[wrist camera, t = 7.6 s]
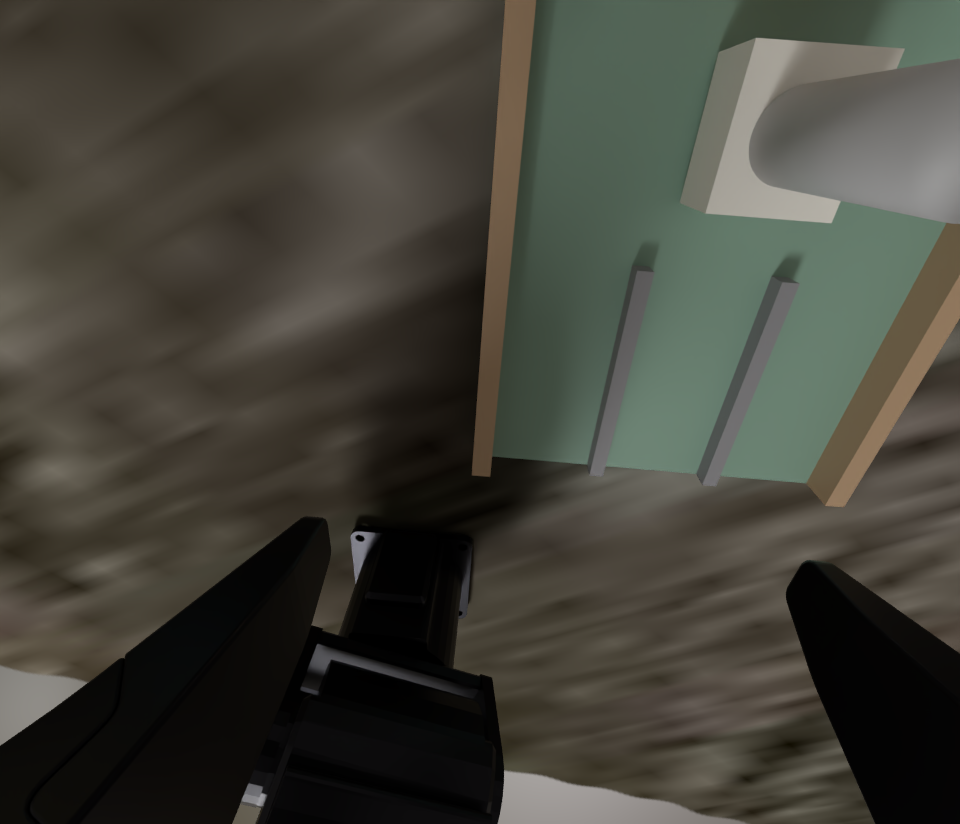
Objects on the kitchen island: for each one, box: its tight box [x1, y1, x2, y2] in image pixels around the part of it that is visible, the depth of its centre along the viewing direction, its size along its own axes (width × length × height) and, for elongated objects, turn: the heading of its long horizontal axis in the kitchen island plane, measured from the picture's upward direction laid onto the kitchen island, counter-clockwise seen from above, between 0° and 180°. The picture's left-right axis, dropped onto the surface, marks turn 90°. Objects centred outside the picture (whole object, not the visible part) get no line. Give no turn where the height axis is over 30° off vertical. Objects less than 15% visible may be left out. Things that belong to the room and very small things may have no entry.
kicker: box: [680, 38, 960, 224], centre depth 11 cm, size 4×4×8 cm
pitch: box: [472, 0, 960, 507], centre depth 16 cm, size 22×16×2 cm
